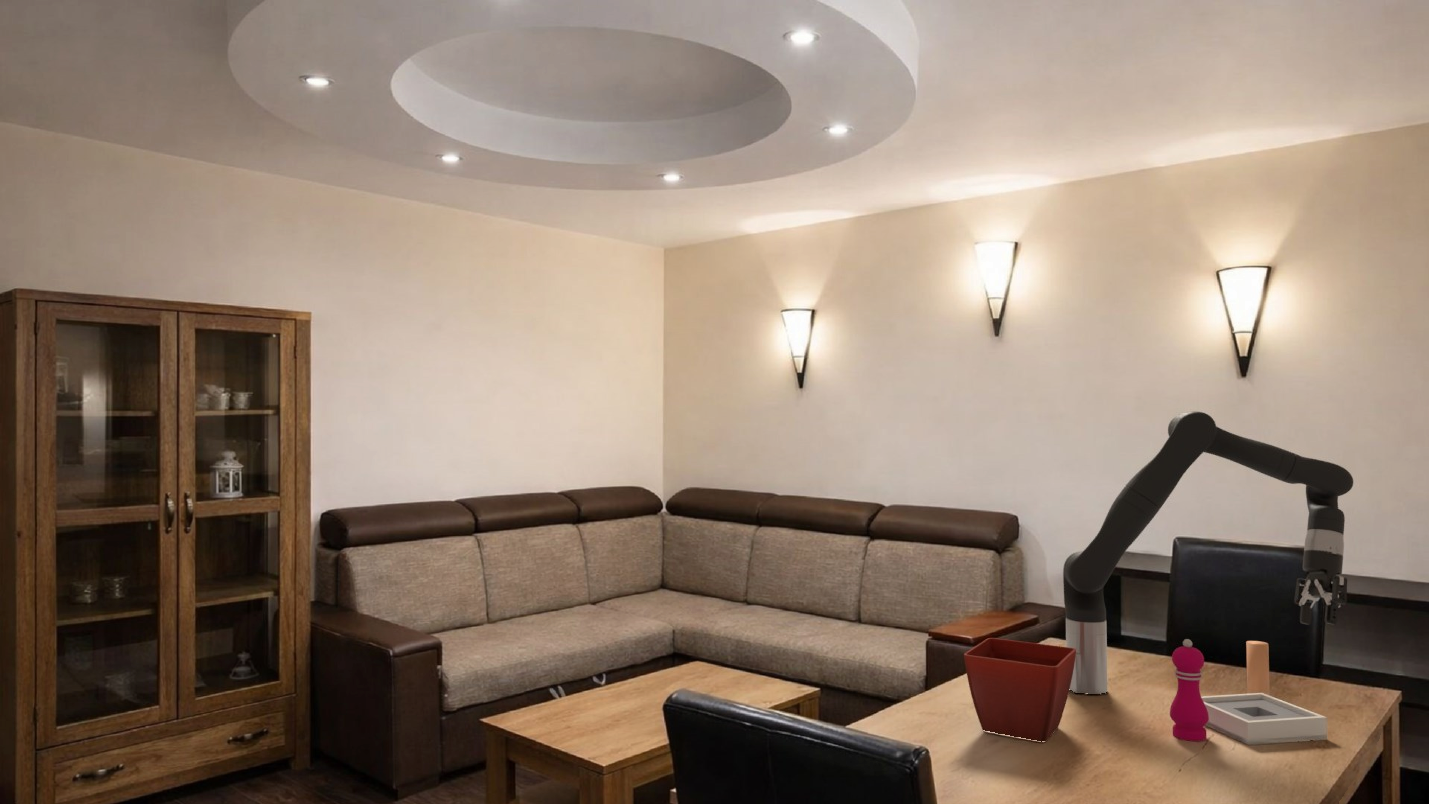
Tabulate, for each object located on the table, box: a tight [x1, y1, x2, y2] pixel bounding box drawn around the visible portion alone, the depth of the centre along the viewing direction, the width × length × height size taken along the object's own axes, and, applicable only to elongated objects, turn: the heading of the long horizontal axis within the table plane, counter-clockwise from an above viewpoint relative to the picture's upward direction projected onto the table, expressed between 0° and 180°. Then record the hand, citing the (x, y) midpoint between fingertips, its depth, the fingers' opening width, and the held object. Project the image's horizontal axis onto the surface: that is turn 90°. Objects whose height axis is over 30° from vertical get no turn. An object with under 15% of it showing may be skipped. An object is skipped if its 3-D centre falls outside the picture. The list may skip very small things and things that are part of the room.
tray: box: [1201, 693, 1328, 746], centre depth 201 cm, size 18×18×4 cm
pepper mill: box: [1169, 638, 1209, 742], centre depth 196 cm, size 7×7×20 cm
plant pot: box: [963, 637, 1076, 742], centre depth 201 cm, size 19×19×17 cm
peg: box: [1245, 640, 1271, 696], centre depth 218 cm, size 4×4×14 cm
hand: (1317, 623), depth 211 cm, fingers open, 8 cm apart
